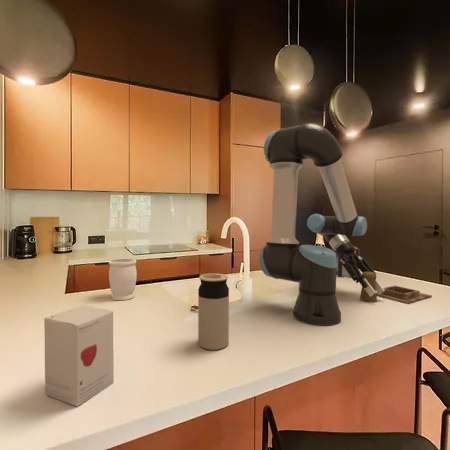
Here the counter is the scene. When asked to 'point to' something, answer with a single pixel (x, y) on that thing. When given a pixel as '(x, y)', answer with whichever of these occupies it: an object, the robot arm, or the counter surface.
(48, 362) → the supplement box
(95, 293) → the counter surface
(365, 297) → the cork
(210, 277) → the travel mug
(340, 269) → the protein box
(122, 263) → the jar
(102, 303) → the counter surface
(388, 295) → the walnut holder
